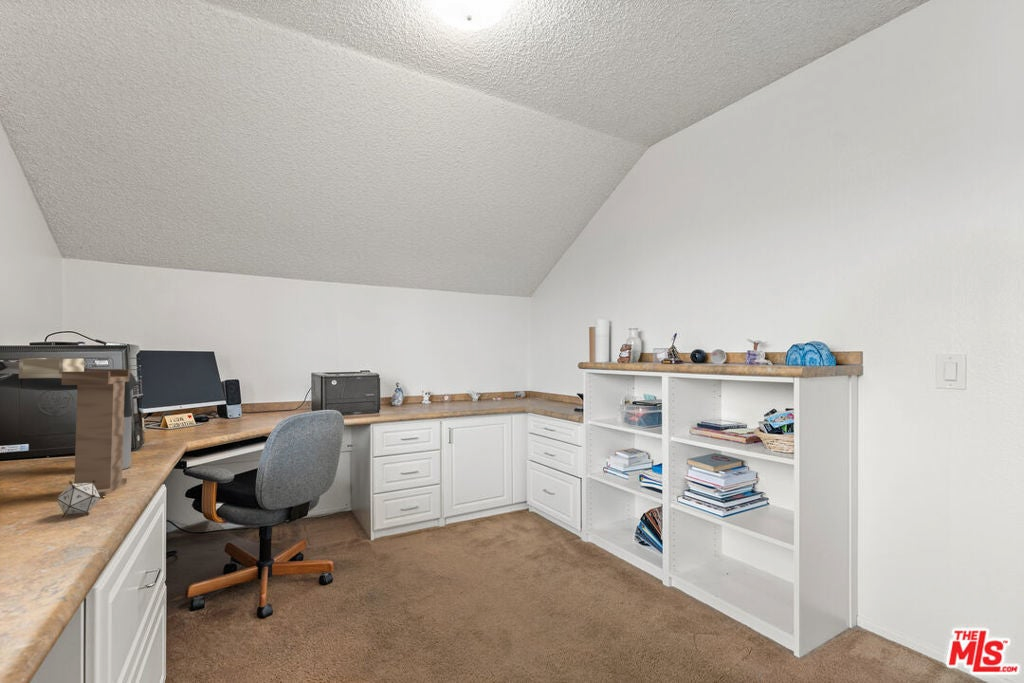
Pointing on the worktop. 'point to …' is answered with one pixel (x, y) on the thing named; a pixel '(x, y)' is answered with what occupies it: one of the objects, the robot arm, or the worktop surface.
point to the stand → (99, 427)
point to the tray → (44, 367)
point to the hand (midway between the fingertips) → (14, 363)
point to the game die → (78, 498)
